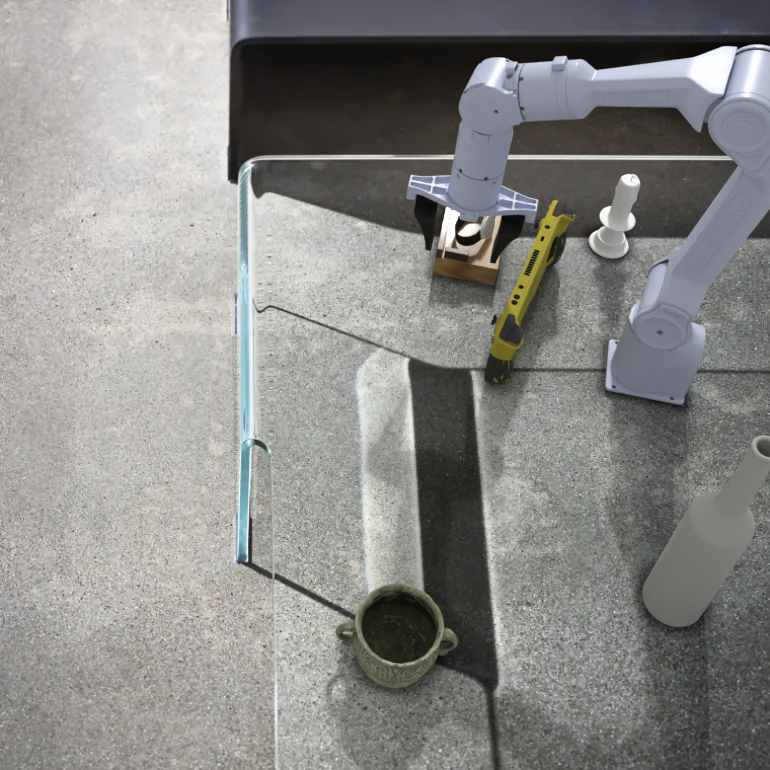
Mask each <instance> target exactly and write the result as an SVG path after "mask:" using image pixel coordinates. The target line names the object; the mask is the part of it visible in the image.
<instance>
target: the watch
mask: <svg viewBox="0 0 770 770" xmlns="http://www.w3.org/2000/svg"><path fill="white" fill-rule="evenodd" d="M465 222H466V221H464V220H461V219H460V218H459V216H458V219H457V221H456V223H455V236H456V241H457V242H458V243H459V244H460V245H462V246H471V245H474V244H476V243H478V242H479V241H480V240H482V239H489V238H490V236H491V235H492V233H493V230H494V226H495V216H485V217H484V219H483V221H482V224H481V229H480V230H479V231H478V232H477V233H476V234H474V235H472V236H468V237H464V236H460V235H459V234H458V233H457V232H458V230H459V229H460V227H461V226H462V225H463V224H464V223H465Z"/></svg>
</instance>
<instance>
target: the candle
mask: <svg viewBox="0 0 770 770" xmlns="http://www.w3.org/2000/svg"><path fill="white" fill-rule="evenodd" d="M640 188H641V181H640V179H639V177H638V175H636V174H634V173H632V174H631V173H627V174H624V175H621V177H620V178H619V180H618V183H617V185H616V186H615V188H614V192H615V194H614V197H613V199H612V202H611V205H609V206H606V207H603V208H602V209H601V210H600V212H599V220H600V222H601V224H602V225H603V226H601V227H600V228H599V229H597V230H595V231H593V232H592V233H591V234H590V235H589V237H588V245H589V247H590V248H591V249H592V251H593V252H594V253H595V254H597V255H598V256H601V257H603V258H606V259H620V258H622V257H624V256H625V255H627V253H628V251H629V248H630V245H629V242H628V240H627V237H626V234H625V232H628V231H630V230H632V229H634V227H635V225H636V218H635V216H634V214H633V213H632V212H631V211H632V208H633V206H634V204H635V203H636V201H637V200H638V194H639V191H640Z"/></svg>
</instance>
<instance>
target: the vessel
mask: <svg viewBox="0 0 770 770" xmlns="http://www.w3.org/2000/svg"><path fill="white" fill-rule="evenodd" d="M334 632H335V636H336V638H337V639H338V640H339V641H341V645H343V646H344V647H352V649H353V652H354V655H355V657H356V659H357V660H358V663H359V666H360V667H361V669H362V670H363V672H364V673H365V675H366V676H367V677H368V678H369V679H370V680H372V681H373V682H375V683H376V684H377V685H379V686H382V687H385V688H389V689H399V688H400V689H401V688H407V687H408V686H410V685H412V684H414V683H417V682H418V681H419V680H420V679H421V678H422V677H423V676H424V675H425V674H426V673H427V672H428V671H429V670H430V669H431V668H432V666H433V665H434V664H435V663H436V661H437V658H438V656H447V655H448V654H449V652H450V651H452V650H455V648H457V646H458V644H459V638H458V636H457V635H456V634H455V633H454V631H453V630H452V629H451V628H448V627H445V622H444V618H443V614H442V612H441V609H440V607H439V606H438V605H437V603H436V602H435V601H434V600H433V598H432V597H431V596H430V595H429V594H427V593H426V592H425V591H424V590H422V589H420V588H419V587H416V586H413V585H411V584H407V583H403V582H402V583H401V582H394V583H390V584H383V585H382V586H379V587H377V588H375V589H373V590H372V591H371V592H369V594H367V596H366V597H365V598H363V600H361V602H360V604H359V606H358V607H357V610H356V613H355V618H354V619H346V620H345V621H344V622H342V623H340V624H339V625H337V626H336V628H335V631H334ZM346 632H348V633H346ZM349 633H350V634H349ZM351 633H352V634H351ZM443 641H446V643H445V642H443ZM447 641H448V642H447ZM442 642H443V643H442Z"/></svg>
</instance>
